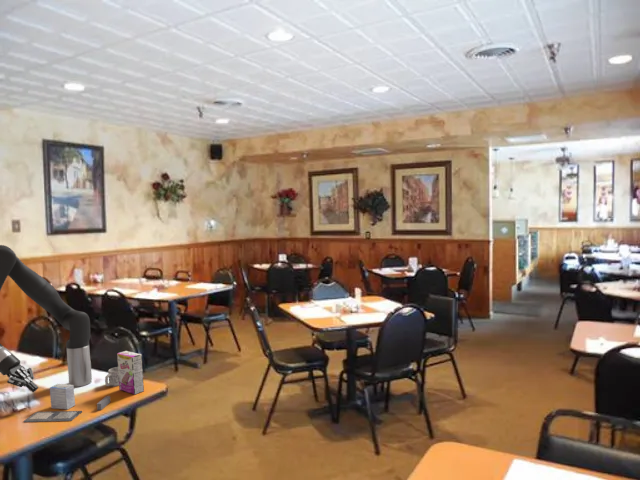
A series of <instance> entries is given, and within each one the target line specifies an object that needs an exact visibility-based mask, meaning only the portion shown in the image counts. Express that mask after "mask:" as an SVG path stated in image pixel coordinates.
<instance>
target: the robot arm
mask: <svg viewBox="0 0 640 480" xmlns="http://www.w3.org/2000/svg"><path fill="white" fill-rule="evenodd" d="M8 277H9V278H10V279H11V280H12V281H14V283H15V285H17V286H18V288H19V289H20V290H21V291H22V292H23V293H24V294H25V295H26V296H27V297H28V298H30V299H31V301H33V302H35V303H36V304H37V305H38V306H40V307H41V308H42V309H44V310H45V311H46V312H48V313H49V314H51V315H52V316H53V318H55V320H56V321H57V322H58V323H59V324H60V325H61V326H62V327H63V328H64V329H65V330H67V331H69V339H68V340H66V343H65V346H66V347H65V348H66V358H67V360H66V362H67V374H68V385H74V388H76V387H78V388H79V387H83V386H87V385H90V384H91V383H92V380H93V379H92V378H93V377H92V376H93V375H92V362H91V353H90V352H91V351H90V340H91V319H90V317H89V314H88V313H87V312H84V311H80V310H77V309H74V308H72V307H71V306H70V305H68V304H67V303H66V302H64V300H63V299H62V298H61V296H60V294H59V293H58V290H56V288H55V287H54V286H53V285H52V284H51V283H50V282H49V281H48V280H47V279H45V278H44V277H42V276H41V275H39V274H38V273H37V272H36V271H35V270H33V269H31V268H30V267H29V266H27V265H26V264H24V262H22V260H21V259H20V258H19V257H18V256H17V254H16V252H15V251H14V250H12V248H11V247H9V246H7V245H4V244H3V245H2V244H0V291H1V290H2V287H3V285H4V283H5V281H6V280H7V278H8ZM0 374H1V375H2V376H7V378H8V380H7V384H10V385H12V386H16V387H20V388H23V387H25V388H27V389H28V390H29V391H30V392H31V393H35V392H36V391H37V390H38V389H39V386H38V385H37V384H36V383H35V382H34V381H33V380H34V378H35V377H34V373H33V369H32V367H28V368H25V366H23V365H21V360H20V359H19V358H18V357H17V356H15V355H14V354H13V353H12V352H11V351H10V350H9V349H8V348H7V347H5V346H4V345H3V344H1V343H0Z"/></svg>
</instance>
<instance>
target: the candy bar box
mask: <svg viewBox="0 0 640 480" xmlns="http://www.w3.org/2000/svg"><path fill="white" fill-rule="evenodd" d="M142 357H143V356H142V354H141V353H137V352H133V351H129V350H124V351H120V352H118V353H116V358H117V367H118V376H119V386H118V390H119V391H122V392H125V393H130V394H132V395H138V394H140V393H143V392H144V391H145V385H144V372H143V358H142Z"/></svg>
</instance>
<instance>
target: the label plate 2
mask: <svg viewBox="0 0 640 480" xmlns="http://www.w3.org/2000/svg"><path fill="white" fill-rule="evenodd" d="M82 413H83V410H61V411H60V410H59V412H58V413H56V414H55V415H54V416H52V417H51V418H50V419H48V420H47V421H48V422H72V421H73V420H74V419H75V418H77V417H78V416H79V415H80V414H82Z"/></svg>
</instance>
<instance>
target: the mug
mask: <svg viewBox="0 0 640 480" xmlns="http://www.w3.org/2000/svg"><path fill="white" fill-rule="evenodd" d="M107 370H108V371H107V372H108V374H106V376H105V377H104V383H105V387H119V376H118V366H115V367H111V368H109V369H107Z"/></svg>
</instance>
